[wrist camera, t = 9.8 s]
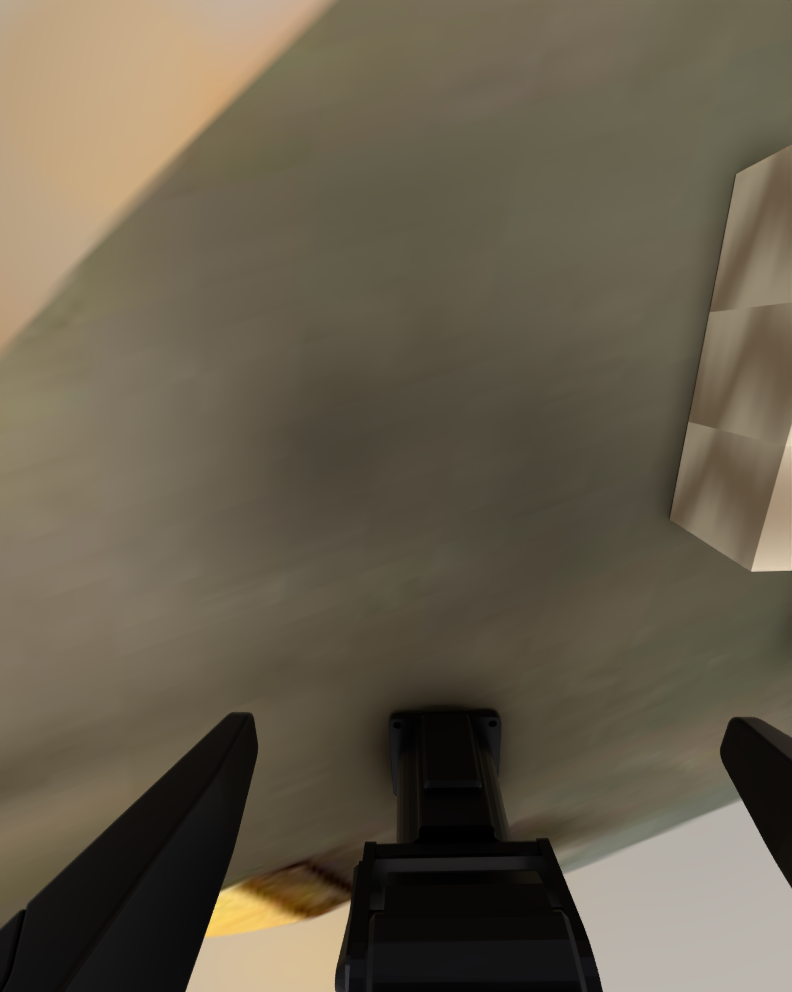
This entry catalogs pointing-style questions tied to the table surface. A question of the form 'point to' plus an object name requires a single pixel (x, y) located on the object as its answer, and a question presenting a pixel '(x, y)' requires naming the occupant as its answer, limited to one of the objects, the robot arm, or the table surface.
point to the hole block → (746, 384)
